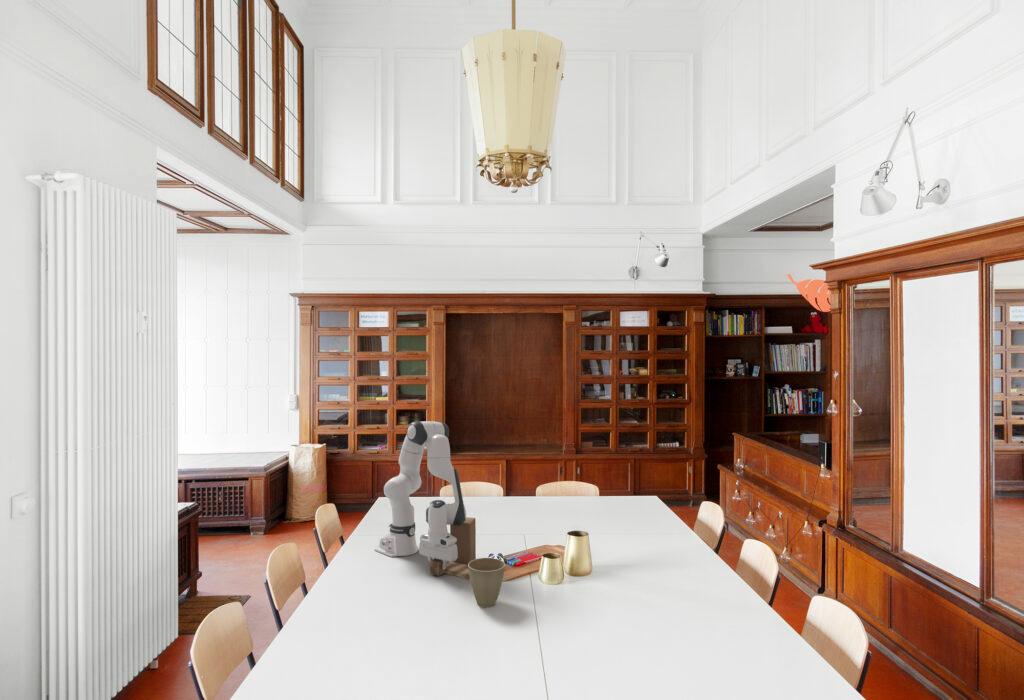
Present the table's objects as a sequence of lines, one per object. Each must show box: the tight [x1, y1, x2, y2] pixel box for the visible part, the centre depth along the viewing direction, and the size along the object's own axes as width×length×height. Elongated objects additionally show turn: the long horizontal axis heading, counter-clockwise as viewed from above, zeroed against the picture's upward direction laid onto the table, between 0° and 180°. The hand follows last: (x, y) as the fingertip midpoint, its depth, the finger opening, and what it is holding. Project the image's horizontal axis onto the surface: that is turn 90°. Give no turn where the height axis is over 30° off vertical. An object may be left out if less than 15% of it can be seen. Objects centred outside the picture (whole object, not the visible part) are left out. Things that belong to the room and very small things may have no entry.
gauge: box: [429, 558, 449, 577], centre depth 278 cm, size 5×12×6 cm, turn 148°
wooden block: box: [449, 516, 477, 565], centre depth 291 cm, size 10×10×20 cm
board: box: [444, 562, 470, 580], centre depth 276 cm, size 24×9×2 cm, turn 57°
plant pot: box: [468, 557, 506, 608], centre depth 243 cm, size 15×15×16 cm
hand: (437, 567), depth 274 cm, fingers closed on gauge, 5 cm apart
